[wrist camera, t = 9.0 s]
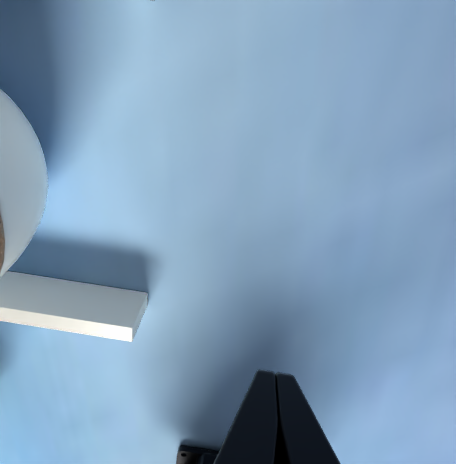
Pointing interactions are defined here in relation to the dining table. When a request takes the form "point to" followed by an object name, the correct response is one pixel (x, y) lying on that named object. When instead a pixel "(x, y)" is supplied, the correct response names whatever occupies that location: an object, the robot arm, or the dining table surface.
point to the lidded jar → (19, 182)
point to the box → (71, 305)
